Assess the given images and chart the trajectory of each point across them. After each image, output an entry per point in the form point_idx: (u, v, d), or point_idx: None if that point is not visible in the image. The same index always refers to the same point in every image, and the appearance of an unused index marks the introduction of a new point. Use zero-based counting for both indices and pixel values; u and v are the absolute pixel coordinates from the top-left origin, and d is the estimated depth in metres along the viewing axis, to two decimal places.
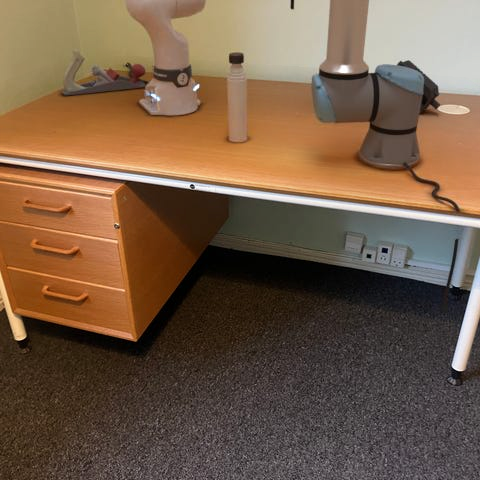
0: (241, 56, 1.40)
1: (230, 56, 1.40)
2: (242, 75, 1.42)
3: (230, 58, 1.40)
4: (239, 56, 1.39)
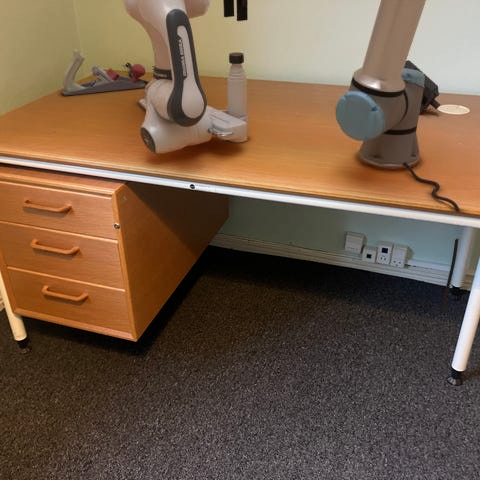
0: (241, 56, 1.40)
1: (230, 56, 1.40)
2: (242, 75, 1.42)
3: (230, 58, 1.40)
4: (239, 56, 1.39)
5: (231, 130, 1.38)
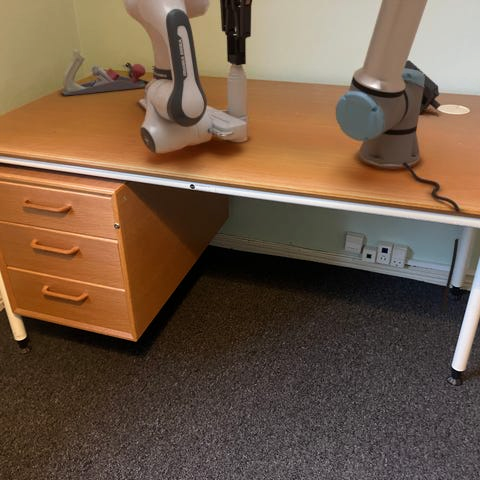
0: None
1: (230, 56, 1.40)
2: (242, 75, 1.42)
3: (230, 58, 1.40)
4: None
5: (231, 130, 1.38)
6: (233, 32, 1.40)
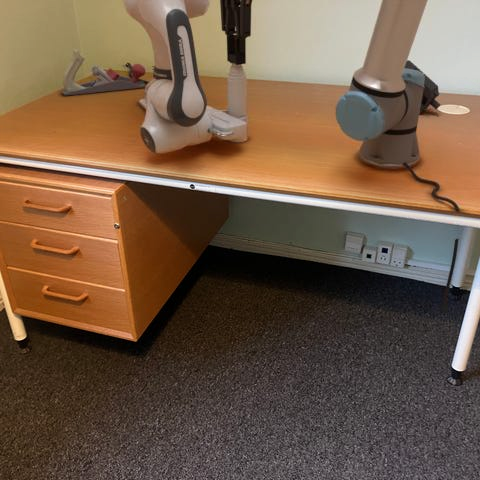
0: None
1: None
2: (242, 75, 1.42)
3: None
4: None
5: (231, 130, 1.38)
6: (233, 32, 1.40)
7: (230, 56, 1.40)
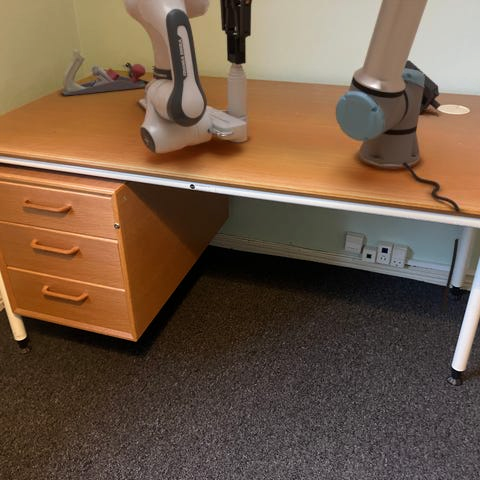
0: (229, 54, 1.41)
1: None
2: (242, 75, 1.42)
3: None
4: None
5: (231, 130, 1.38)
6: (233, 31, 1.40)
7: None
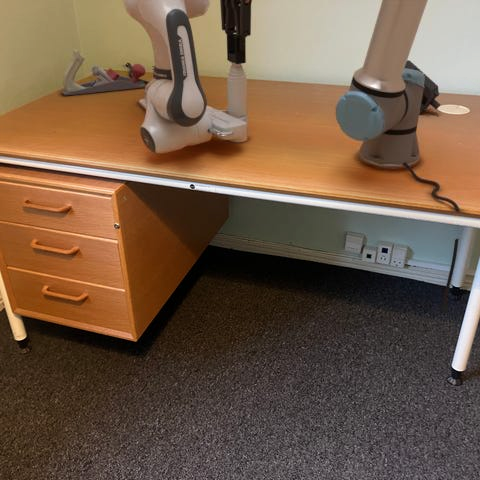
0: None
1: (229, 54, 1.40)
2: (242, 75, 1.42)
3: (229, 56, 1.41)
4: None
5: (231, 130, 1.38)
6: (233, 31, 1.40)
7: None
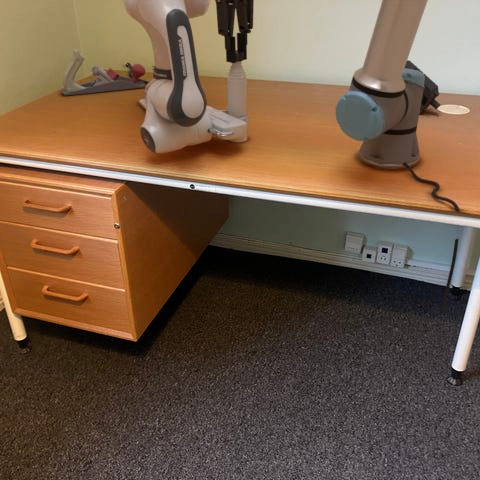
0: None
1: (239, 54, 1.39)
2: (242, 75, 1.42)
3: (239, 56, 1.39)
4: None
5: (231, 130, 1.38)
6: None
7: None
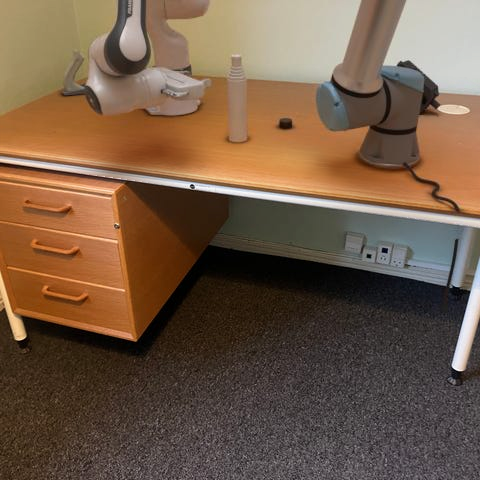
0: None
1: (288, 123, 1.58)
2: (242, 75, 1.42)
3: (289, 124, 1.59)
4: None
5: (186, 90, 1.25)
6: None
7: (279, 121, 1.60)
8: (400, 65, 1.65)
